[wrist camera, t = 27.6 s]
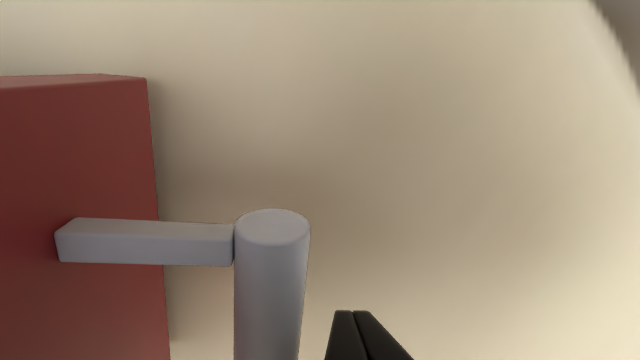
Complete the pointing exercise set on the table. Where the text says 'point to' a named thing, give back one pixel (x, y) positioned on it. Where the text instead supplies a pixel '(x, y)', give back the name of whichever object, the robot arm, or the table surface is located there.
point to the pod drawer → (119, 233)
